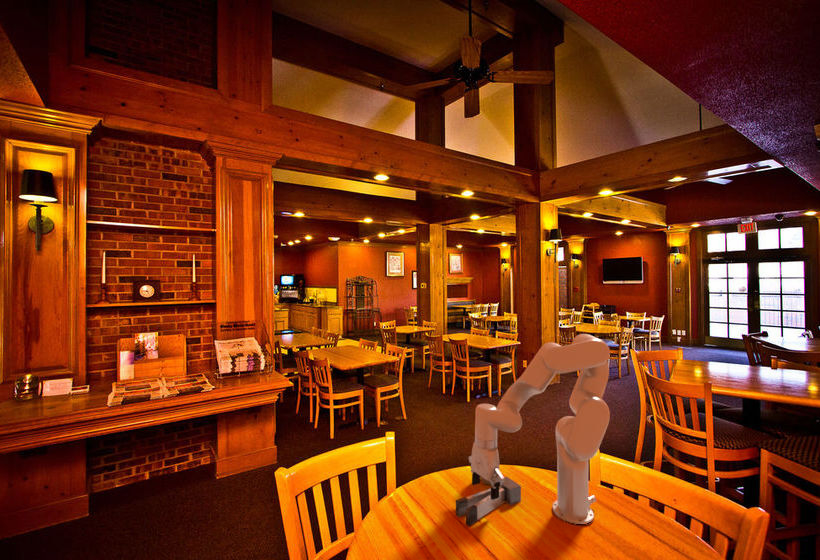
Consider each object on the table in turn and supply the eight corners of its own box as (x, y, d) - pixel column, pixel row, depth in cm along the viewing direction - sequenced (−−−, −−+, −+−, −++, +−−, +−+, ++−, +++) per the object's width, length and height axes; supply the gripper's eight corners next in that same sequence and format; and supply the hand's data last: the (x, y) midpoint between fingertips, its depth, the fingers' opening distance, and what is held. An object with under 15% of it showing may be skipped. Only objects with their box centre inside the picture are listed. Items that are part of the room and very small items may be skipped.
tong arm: (501, 500, 131) (501, 487, 131) (505, 502, 130) (504, 489, 130) (465, 523, 118) (465, 509, 118) (469, 526, 117) (469, 511, 117)
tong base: (506, 491, 137) (506, 476, 137) (520, 501, 131) (520, 485, 131) (452, 512, 125) (452, 495, 125) (465, 523, 119) (465, 506, 119)
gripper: (461, 434, 133) (461, 481, 133) (495, 454, 118) (494, 507, 118) (478, 430, 137) (477, 476, 137) (512, 449, 122) (511, 501, 122)
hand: (485, 491), depth 128 cm, fingers open, 9 cm apart
